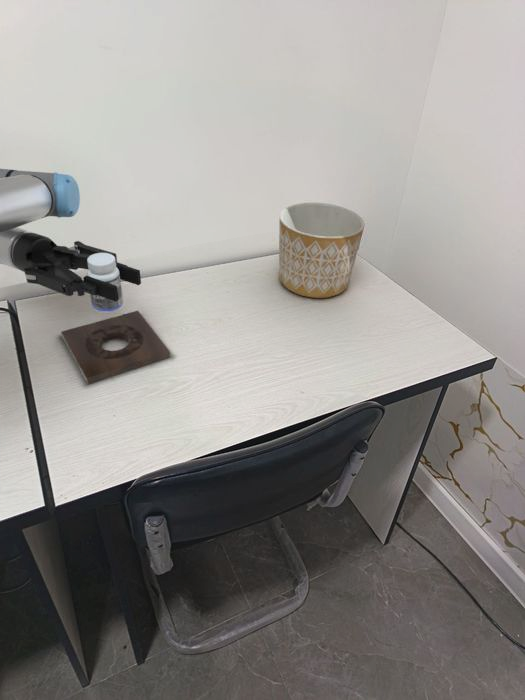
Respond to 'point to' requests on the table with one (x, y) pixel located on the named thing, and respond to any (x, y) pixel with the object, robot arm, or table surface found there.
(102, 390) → the table surface
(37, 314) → the table surface
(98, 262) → the pill bottle
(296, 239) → the planter
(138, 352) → the socket plate
